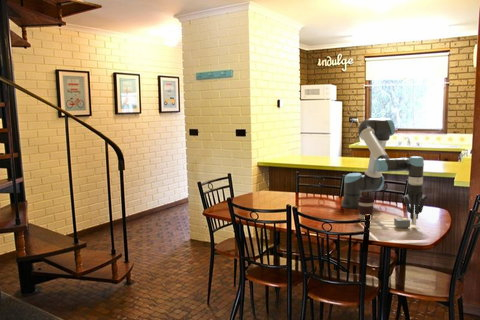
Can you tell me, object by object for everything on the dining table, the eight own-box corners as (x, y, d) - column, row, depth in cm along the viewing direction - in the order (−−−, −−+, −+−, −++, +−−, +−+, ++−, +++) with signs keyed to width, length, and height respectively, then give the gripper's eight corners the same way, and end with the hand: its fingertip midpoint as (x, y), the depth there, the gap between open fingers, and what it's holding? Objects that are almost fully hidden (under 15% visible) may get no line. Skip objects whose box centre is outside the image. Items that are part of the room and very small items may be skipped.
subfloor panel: (360, 223, 242) (360, 220, 242) (406, 222, 243) (406, 219, 242) (370, 232, 225) (370, 229, 224) (419, 231, 225) (419, 228, 225)
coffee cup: (367, 223, 242) (367, 199, 240) (353, 219, 250) (354, 196, 248) (377, 220, 247) (377, 196, 245) (363, 217, 255) (364, 194, 253)
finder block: (394, 226, 230) (394, 217, 229) (406, 226, 230) (406, 217, 229) (397, 228, 225) (397, 220, 224) (409, 228, 225) (410, 219, 224)
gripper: (406, 185, 221) (405, 226, 224) (430, 185, 221) (428, 226, 224) (401, 182, 228) (399, 222, 231) (423, 182, 228) (422, 222, 231)
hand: (413, 224), depth 227 cm, fingers closed
